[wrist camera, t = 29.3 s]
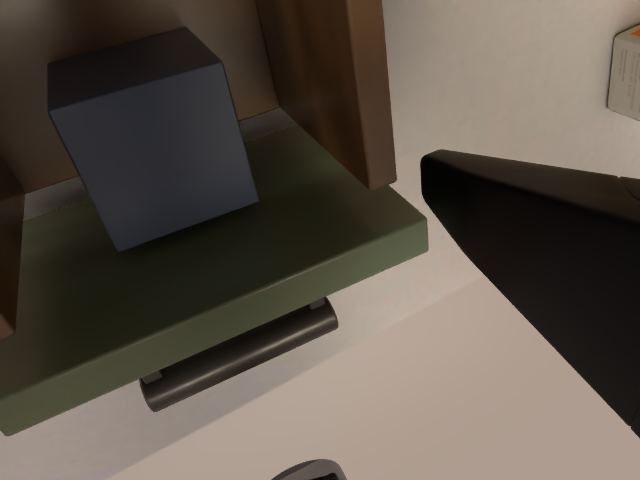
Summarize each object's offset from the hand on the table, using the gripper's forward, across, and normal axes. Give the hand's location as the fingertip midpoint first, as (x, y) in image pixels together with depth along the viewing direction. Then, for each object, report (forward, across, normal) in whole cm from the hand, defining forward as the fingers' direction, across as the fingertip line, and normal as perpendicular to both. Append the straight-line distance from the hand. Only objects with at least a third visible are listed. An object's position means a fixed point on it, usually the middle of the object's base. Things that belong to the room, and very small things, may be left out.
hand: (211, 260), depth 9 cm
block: (+8, 0, 0) cm, 9 cm away
